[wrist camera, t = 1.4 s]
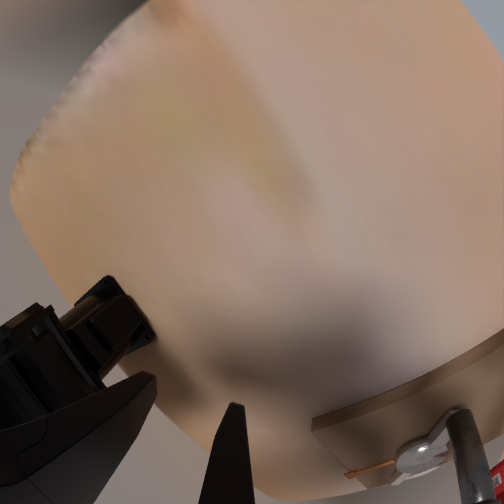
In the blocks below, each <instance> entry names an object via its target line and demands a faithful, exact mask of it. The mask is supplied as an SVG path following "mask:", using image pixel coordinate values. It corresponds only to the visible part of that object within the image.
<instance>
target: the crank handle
mask: <svg viewBox="0 0 504 504" xmlns="http://www.w3.org/2000/svg"><path fill="white" fill-rule="evenodd" d="M449 440H450V444H451V449H452V453H453V458H454V462H455V467H456V472H457V478H458V484H459V490H460V496H461V503H462V504H502V502H501V500H496V495H495V490H494V486H493V481H492V477H491V473H490V469H489V465H488V462H487V458H486V454H485V451H484V447H483V444H482V441H481V437H480V434H479V431H478V428H477V425H476V422H475V419H474V416H473V413H472V411H471V410H470V409H462V410H449V411H448V412H447V413H446V414H445V416H444V417H443V418H442V419H441V421H440V422H439V423H438V424H437V425H436V427H435V428H434V429H433V430H432V431H431V433H430V434H429V435H428V436H426V437H422V438H418V439H416V440H413V441H411V442H409V443H407V444H406V445H404V446H403V447H402V448H400V449H399V451H398V452H397V454H396V467H397V471H396V472H395V473H394V474H393V475H392V476H391V477H390V485H399V484H400V483H401V482H402V481H403V480H405V479H406V478H407V477H408V476H409V475H410V474H411V473H418V472H422V471H426V470H428V469H431V468H433V467H435V466H436V465H438V464H439V463H441V462H442V461H443V460H444V459H445V458H446V456H447V455H448V449H447V444H446V443H447V442H448V441H449Z"/></svg>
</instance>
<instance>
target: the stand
mask: <svg viewBox="0 0 504 504" xmlns="http://www.w3.org/2000/svg"><path fill="white" fill-rule="evenodd" d="M462 409H470V410H471V411H472V413H473V416H474V419H475V422H476V425H477V428H478V431H479V434H480V437H481V441H482V444H483V445H484V444H486V443H487V442H489V441H491V440H493V439H495V438H497V437H498V436H500V435H502V434H503V433H504V329H503V330H501V331H500V332H498V333H497V334H495V335H494V336H492V337H491V338H489V339H487V340H486V341H484V342H483V343H481V344H479V345H478V346H476V347H474V348H473V349H471V350H469V351H468V352H466V353H464V354H463V355H461V356H459V357H457V358H455V359H454V360H452V361H450V362H448V363H446V364H444V365H443V366H441V367H439V368H437V369H435V370H433V371H431V372H429V373H427V374H425V375H423V376H421V377H419V378H417V379H415V380H413V381H410V382H408V383H406V384H404V385H402V386H399V387H397V388H395V389H393V390H390V391H388V392H386V393H383V394H381V395H378V396H376V397H373V398H371V399H368V400H366V401H363V402H360V403H358V404H355V405H352V406H350V407H347V408H344V409H341V410H338V411H335V412H332V413H329V414H326V415H323V416H320V417H317V418H313V419H312V427H311V432H312V433H313V434H314V436H315V437H316V438H317V439H318V440H319V441H320V442H321V443H322V444H323V445H324V446H325V447H326V448H327V449H328V450H329V451H330V452H331V453H332V454H333V455H334V456H335V457H336V458H337V459H338V460H339V461H340V462H341V463H342V464H343V465H344V466H345V467H346V468H347V469H348V470H349V471H350V472H347V473H344V475H345V476H346V477H348V478H349V479H350V478H354V477H356V478H357V479H358V480H359V481H360V482H361V483H362V484H363V485H364V486H365V487H366V488H367V489H369V488H373V487H377V486H380V485H384V484H387V483H390V477H391V476H392V475H393V474H394V473H395V472H396V471H397V467H396V454H397V452H398V451H399V449H400V448H402V447H403V446H404V445H406V444H407V443H409V442H411V441H413V440H416V439H418V438H422V437H426V436H428V435H429V434H430V433H431V431H432V430H433V429H434V428H435V427H436V425H437V424H438V423H439V422H440V421H441V419H442V418H443V417H444V416H445V414H446V413H447V412H448V411H449V410H462ZM446 444H447V449H448V455H447V456H446V458H445V459H444V460H443V461H442V462H441V463H439V464H438V465H436V466H439V465H441V464H444V463H446V462H448V461H450V460H453V459H454V458H453V453H452V449H451V444H450V440H449V441H448V442H447V443H446ZM436 466H435V467H436ZM433 468H434V467H433ZM428 470H429V469H428ZM422 472H423V471H422ZM418 473H421V472H418ZM418 473H411V474H410V475H409V476H412V475H415V474H418ZM409 476H408V477H409Z"/></svg>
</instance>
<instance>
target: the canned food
mask: <svg viewBox="0 0 504 504" xmlns="http://www.w3.org/2000/svg"><path fill="white" fill-rule="evenodd" d="M490 473H491V477H492V481H493V486H494V490H495V495H496V500H501V502H502V504H504V460H503V461H502V462H500V463H499V464H497V465H496V466H495V467H493V468H492V469H491V470H490Z"/></svg>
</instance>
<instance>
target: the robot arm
mask: <svg viewBox="0 0 504 504" xmlns="http://www.w3.org/2000/svg"><path fill="white" fill-rule="evenodd" d="M107 281H108V282H109V283H108V282H107ZM148 335H149V336H150V337H149V336H148ZM154 339H155V334H154V333H153V331H152V330H151V329H150V328H149V326H148V325H147V324H146V323H145V321H144V320H143V319H142V317H141V316H140V315H139V314H138V312H137V311H136V310H135V308H134V307H133V306H132V304H131V303H130V302H129V300H128V299H127V298H126V296H125V295H124V294H123V292H122V291H121V289H120V288H119V287H118V285H117V284H116V282H115V281H114V280H113V278H112V277H111V276H109V275H107V276H105V277H103V278H102V279H101V280H100V281H99V282H98V283H97V284H95V285H94V286H93V287H92V288H91V289H90V290H89V291H88V292H87V293H86V294H84V295H83V296H82V297H81V298H80V299H79V300H78V301H77V302H76V303H75V304H74V308H72V309H71V310H70V311H68V312H67V313H66V314H65V315H63V316H62V317H61V318H60V319H58V317H57V316H56V314H55V312H54V308H53V307H52V305H49V306H48V307H46V308H44V307H43V306H41V305H39V304H38V303H35V304H33V305H31V306H30V307H29V308H27V309H26V310H24V311H23V312H21V313H20V314H18V315H17V316H15V317H14V318H12V319H10V320H9V321H7V322H6V323H5V324H3V325H2V326H0V504H93V503H94V502H95V500H96V499H97V497H98V496H99V494H100V493H101V491H102V490H103V488H104V487H105V485H106V484H107V482H108V481H109V479H110V477H111V476H112V474H113V473H114V472H115V470H116V468H117V467H118V465H119V464H120V462H121V461H122V459H123V458H124V456H125V455H126V453H127V452H128V450H129V449H130V447H131V445H132V444H133V443H134V441H135V439H136V438H137V436H138V434H139V432H140V430H141V428H142V426H143V424H144V422H145V420H146V417H147V415H148V413H149V411H150V409H151V407H152V405H153V403H154V401H155V399H156V396H157V383H156V376H155V375H154V374H152V373H149V372H147V371H141V372H138V373H136V374H134V375H132V376H130V377H128V378H126V379H124V380H122V381H120V382H118V383H116V384H114V385H112V386H110V387H106V386H105V385H104V383H103V382H102V380H103V379H104V377H105V376H106V375H107V374H108V373H109V372H110V371H111V370H112V368H113V367H114V366H115V365H116V364H117V363H118V362H119V361H120V360H121V359H122V357H123V356H125V355H127V354H129V353H131V352H133V351H135V350H137V349H139V348H141V347H143V346H145V345H147V344H149V343H151V342H152V341H153V340H154ZM198 504H255V498H254V489H253V481H252V472H251V463H250V454H249V445H248V435H247V425H246V416H245V407H244V405H241V404H238V403H235V402H231V403H230V404H229V406H228V408H227V410H226V412H225V415H224V417H223V419H222V421H221V423H220V425H219V428H218V430H217V432H216V435H215V438H214V441H213V445H212V449H211V454H210V458H209V462H208V466H207V470H206V474H205V478H204V482H203V486H202V490H201V495H200V498H199V502H198Z"/></svg>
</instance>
